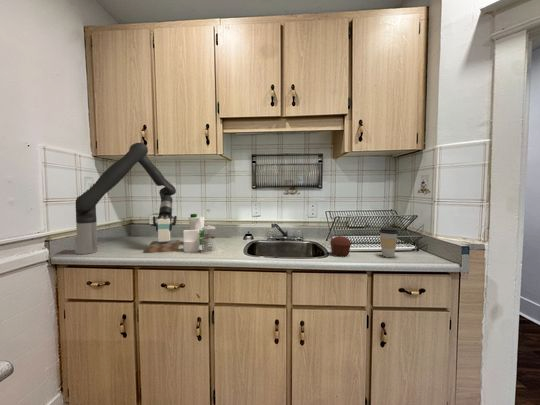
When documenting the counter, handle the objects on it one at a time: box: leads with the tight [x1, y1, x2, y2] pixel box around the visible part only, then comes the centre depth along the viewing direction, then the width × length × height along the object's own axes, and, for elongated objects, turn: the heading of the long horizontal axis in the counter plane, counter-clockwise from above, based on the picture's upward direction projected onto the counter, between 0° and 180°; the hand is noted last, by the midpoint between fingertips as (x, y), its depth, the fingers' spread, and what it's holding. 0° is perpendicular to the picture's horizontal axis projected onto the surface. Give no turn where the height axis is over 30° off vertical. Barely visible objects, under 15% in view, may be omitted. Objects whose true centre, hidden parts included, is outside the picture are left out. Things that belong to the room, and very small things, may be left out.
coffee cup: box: [378, 227, 399, 258], centre depth 131 cm, size 9×9×15 cm
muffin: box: [329, 235, 353, 257], centre depth 134 cm, size 12×11×10 cm
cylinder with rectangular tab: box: [182, 229, 200, 253], centre depth 143 cm, size 9×9×12 cm
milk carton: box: [188, 213, 205, 246], centre depth 160 cm, size 9×9×20 cm
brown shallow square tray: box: [146, 239, 180, 254], centre depth 146 cm, size 16×16×4 cm
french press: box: [198, 208, 218, 255], centre depth 140 cm, size 10×12×25 cm
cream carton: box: [157, 217, 171, 242], centre depth 146 cm, size 6×6×14 cm
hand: (163, 230), depth 144 cm, fingers closed on cream carton, 6 cm apart
